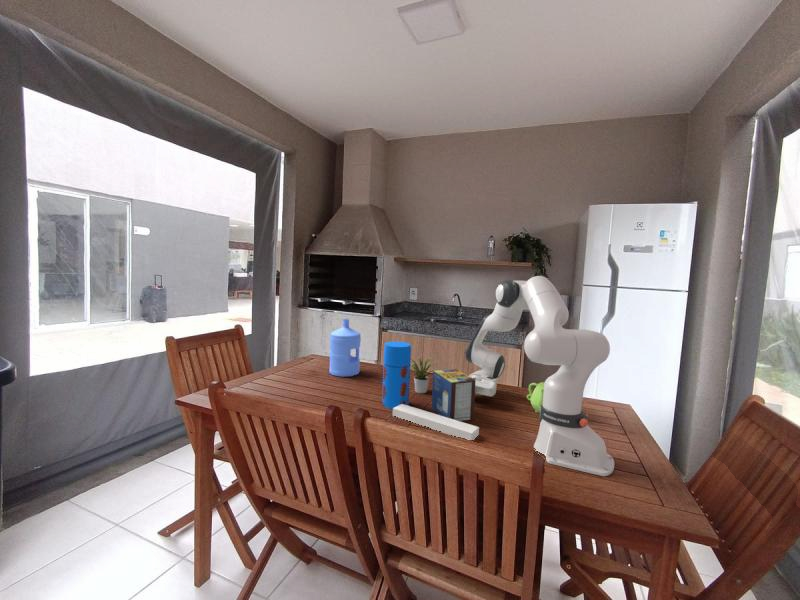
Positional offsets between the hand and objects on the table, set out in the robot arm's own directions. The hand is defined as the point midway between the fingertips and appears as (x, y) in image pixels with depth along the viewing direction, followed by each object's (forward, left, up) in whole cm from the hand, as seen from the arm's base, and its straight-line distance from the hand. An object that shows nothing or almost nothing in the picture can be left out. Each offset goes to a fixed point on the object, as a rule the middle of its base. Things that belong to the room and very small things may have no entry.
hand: (463, 390), depth 150 cm
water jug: (+68, -1, -7) cm, 68 cm away
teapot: (-29, -17, -7) cm, 34 cm away
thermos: (+22, +17, -7) cm, 29 cm away
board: (0, +24, -7) cm, 25 cm away
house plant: (+22, -5, -7) cm, 23 cm away
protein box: (0, +10, -7) cm, 12 cm away
